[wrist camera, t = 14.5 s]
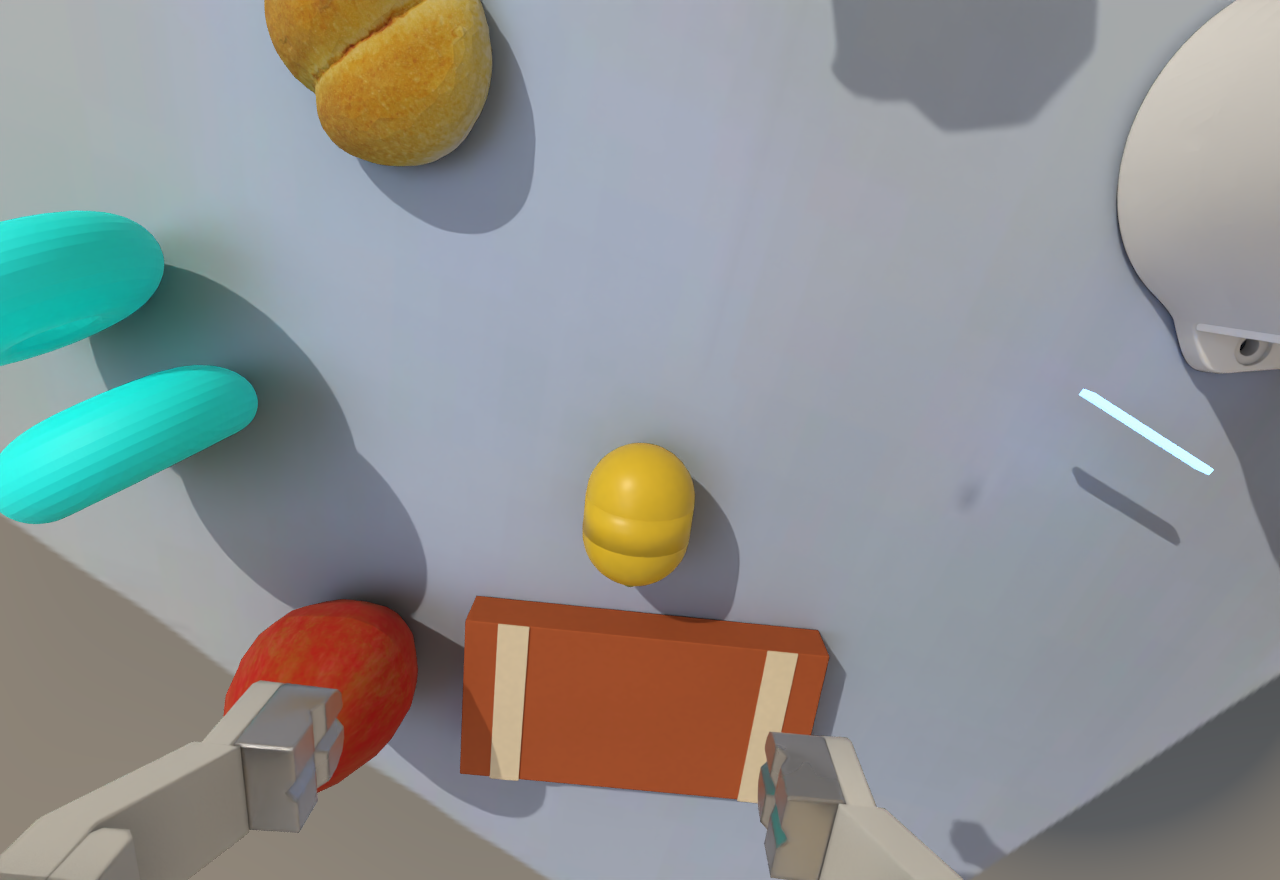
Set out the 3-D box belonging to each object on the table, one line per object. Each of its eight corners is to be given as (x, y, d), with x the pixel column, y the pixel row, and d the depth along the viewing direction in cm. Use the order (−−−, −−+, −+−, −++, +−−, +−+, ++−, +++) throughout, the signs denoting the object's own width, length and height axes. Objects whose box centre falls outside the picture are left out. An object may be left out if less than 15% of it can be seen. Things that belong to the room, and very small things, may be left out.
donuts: (185, 201, 30) (-25, 191, 21) (309, 395, 33) (174, 466, 23) (13, 295, 31) (-258, 326, 22) (146, 474, 34) (-44, 571, 25)
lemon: (579, 427, 32) (607, 466, 28) (678, 429, 34) (720, 466, 30) (567, 562, 35) (591, 619, 30) (660, 557, 36) (696, 610, 32)
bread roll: (378, 200, 30) (339, 197, 26) (256, -4, 28) (195, -40, 24) (537, 108, 29) (520, 91, 25) (425, -114, 26) (388, -170, 23)
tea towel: (818, 629, 37) (830, 657, 35) (786, 771, 40) (795, 806, 38) (476, 595, 36) (464, 621, 34) (470, 742, 40) (459, 775, 37)
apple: (402, 547, 36) (304, 678, 25) (463, 670, 38) (397, 835, 28) (265, 590, 36) (118, 733, 26) (334, 708, 39) (224, 881, 29)
